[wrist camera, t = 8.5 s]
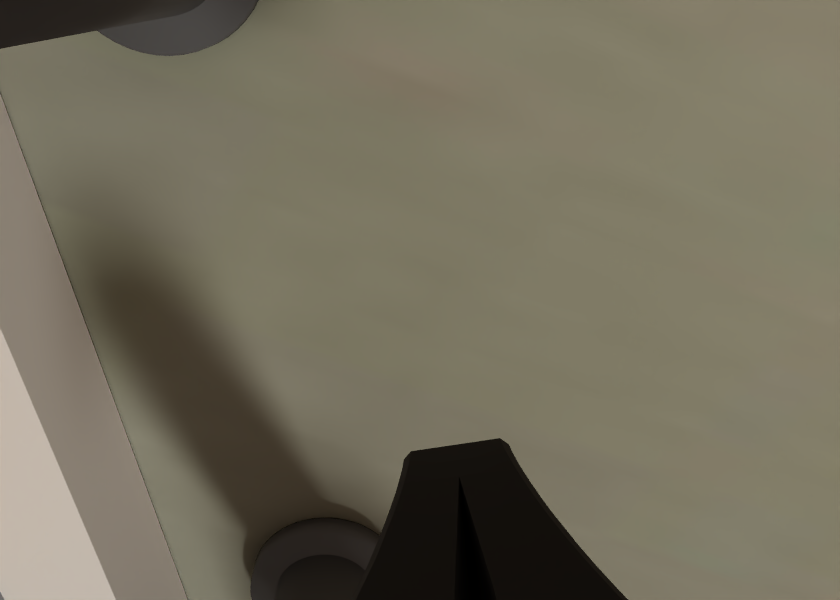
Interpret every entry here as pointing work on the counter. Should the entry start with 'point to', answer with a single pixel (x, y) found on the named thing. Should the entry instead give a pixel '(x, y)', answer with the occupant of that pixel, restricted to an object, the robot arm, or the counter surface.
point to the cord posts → (177, 35)
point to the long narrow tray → (62, 430)
